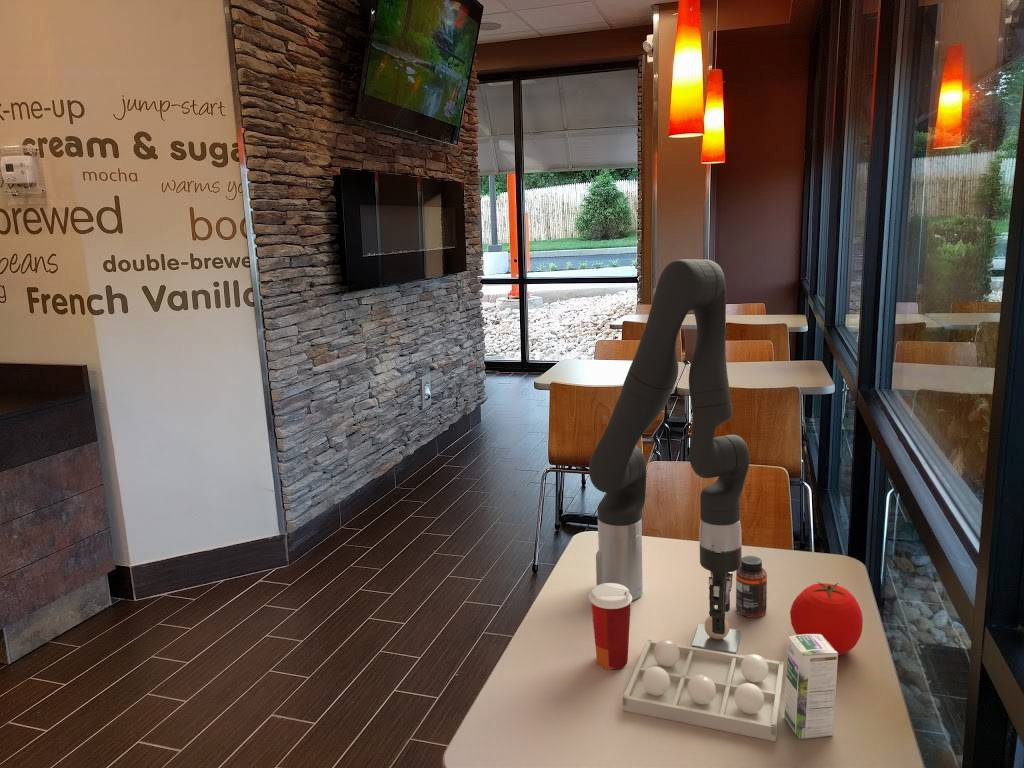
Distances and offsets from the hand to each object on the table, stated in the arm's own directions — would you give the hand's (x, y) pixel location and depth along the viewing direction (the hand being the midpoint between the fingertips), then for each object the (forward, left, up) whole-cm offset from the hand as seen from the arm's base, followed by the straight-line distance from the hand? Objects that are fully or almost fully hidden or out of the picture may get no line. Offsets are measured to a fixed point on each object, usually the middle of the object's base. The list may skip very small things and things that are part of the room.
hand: (721, 621), depth 146 cm
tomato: (+18, +3, -4) cm, 19 cm away
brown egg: (-1, 0, -1) cm, 1 cm away
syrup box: (+16, -21, -4) cm, 27 cm away
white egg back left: (-8, -13, -1) cm, 15 cm away
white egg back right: (+7, -13, -1) cm, 15 cm away
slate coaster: (-1, 0, -4) cm, 4 cm away
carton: (0, -17, -4) cm, 18 cm away
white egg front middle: (0, -22, -1) cm, 22 cm away
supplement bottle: (+4, +13, -4) cm, 14 cm away
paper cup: (-18, -13, -4) cm, 23 cm away
